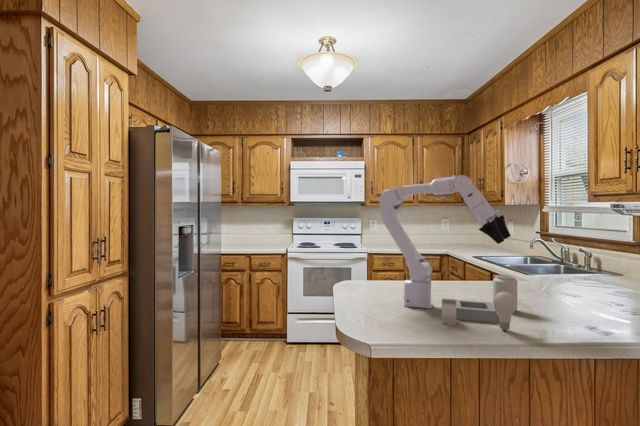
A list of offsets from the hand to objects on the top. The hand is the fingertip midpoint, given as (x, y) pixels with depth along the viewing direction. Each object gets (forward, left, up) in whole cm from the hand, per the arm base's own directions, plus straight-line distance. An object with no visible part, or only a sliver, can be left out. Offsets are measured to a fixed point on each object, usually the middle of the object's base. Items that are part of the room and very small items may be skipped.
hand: (504, 239), depth 119 cm
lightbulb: (-2, -16, -25) cm, 30 cm away
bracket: (-17, -13, -25) cm, 33 cm away
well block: (-9, -3, -25) cm, 27 cm away
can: (+2, +8, -25) cm, 26 cm away
